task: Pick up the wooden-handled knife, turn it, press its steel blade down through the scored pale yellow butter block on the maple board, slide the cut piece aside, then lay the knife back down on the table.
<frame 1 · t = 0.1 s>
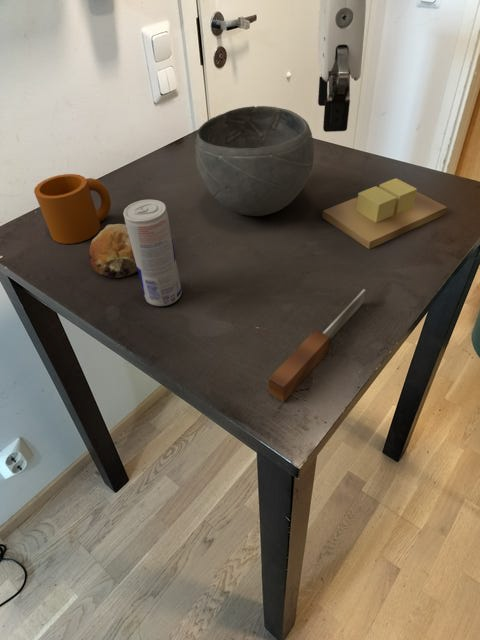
hand: (331, 117, 67), 19 cm above the table, tool pointing down, fingers open, 9 cm apart
butter piece: (374, 213, 81), point 1 cm above the table, touching board
bread roll: (123, 262, 78), on the table
bowl: (256, 205, 88), on the table
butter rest: (394, 204, 83), point 1 cm above the table, touching board
beverage can: (164, 297, 71), on the table
mug: (85, 229, 86), on the table
board: (383, 216, 83), on the table
knife: (299, 372, 58), on the table
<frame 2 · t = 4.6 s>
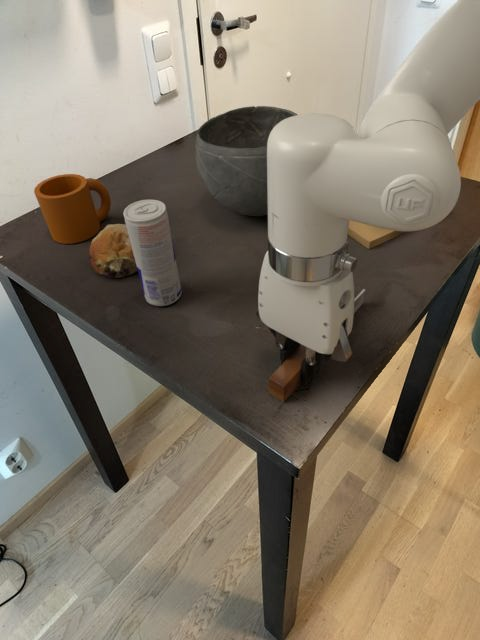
hand: (299, 370, 58), 0 cm above the table, tool pointing down, fingers closed on knife, 2 cm apart
knife: (299, 372, 58), on the table, touching gripper
everything else where it was.
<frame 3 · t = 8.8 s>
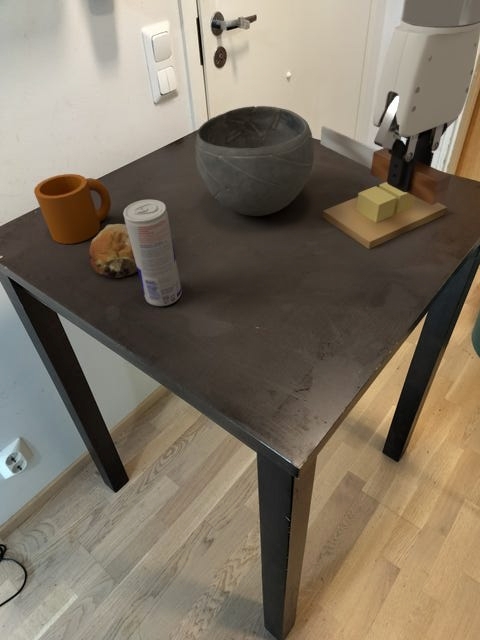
hand: (406, 182, 57), 17 cm above the table, tool pointing down, fingers closed on knife
knife: (405, 186, 58), point 17 cm above the table, touching gripper
everything else where it was.
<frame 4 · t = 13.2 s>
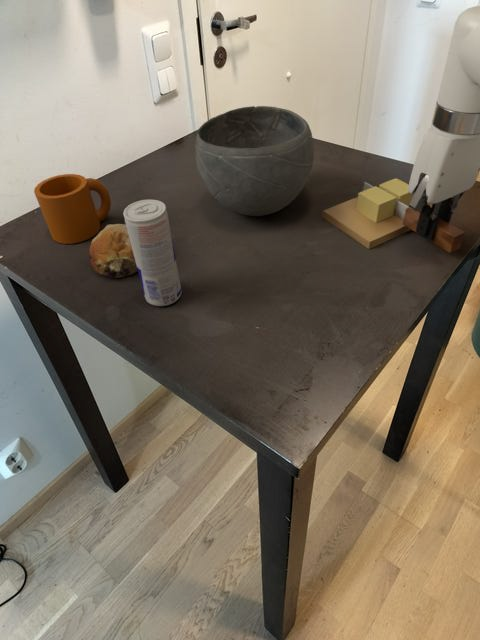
hand: (430, 232, 75), 2 cm above the table, tool pointing down, fingers closed on knife, 2 cm apart
knife: (429, 235, 76), point 1 cm above the table, touching gripper
everything else where it was.
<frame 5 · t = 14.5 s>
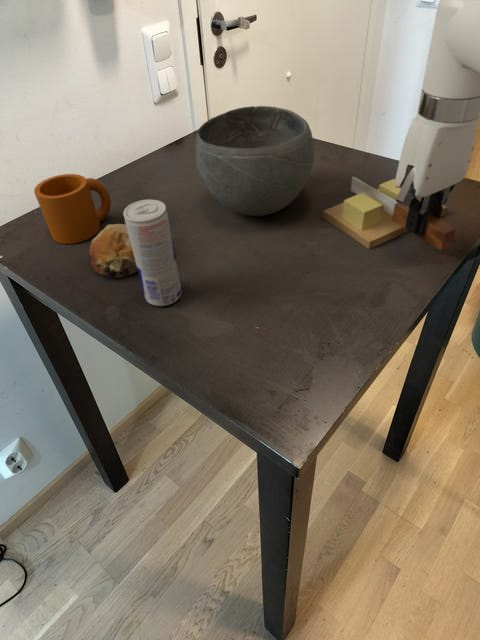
hand: (421, 228, 72), 5 cm above the table, tool pointing down, fingers closed on knife
butter piece: (360, 220, 80), point 2 cm above the table, touching board
knife: (420, 232, 72), point 4 cm above the table, touching gripper
everything else where it was.
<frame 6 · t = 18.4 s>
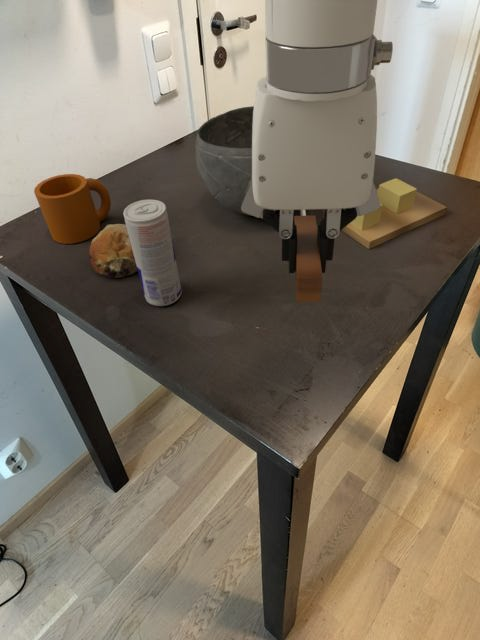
hand: (306, 263, 47), 17 cm above the table, tool pointing down, fingers closed on knife
knife: (305, 268, 47), point 16 cm above the table, touching gripper
everything else where it was.
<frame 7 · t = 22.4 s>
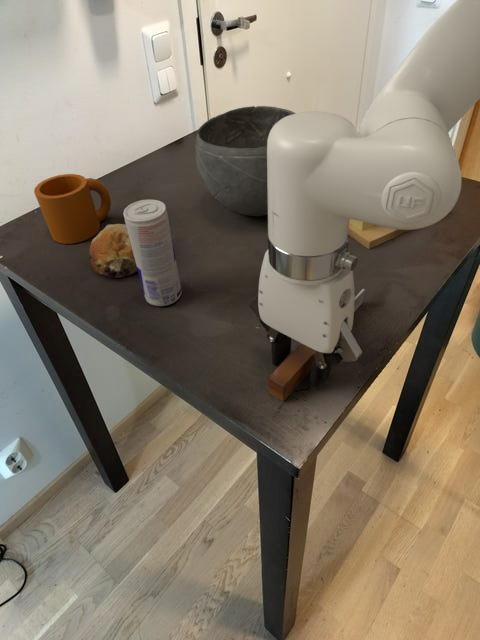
hand: (299, 368, 58), 1 cm above the table, tool pointing down, fingers open, 4 cm apart
knife: (299, 371, 58), on the table
everything else where it was.
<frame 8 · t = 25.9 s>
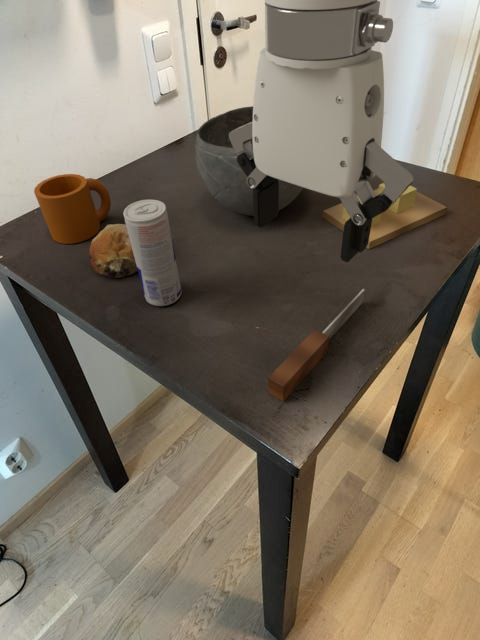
hand: (307, 236, 44), 20 cm above the table, tool pointing down, fingers open, 9 cm apart
nothing on the table moved.
at the end: butter piece moved 3.6 cm from its start; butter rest moved 0.0 cm from its start; the gripper is holding nothing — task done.
